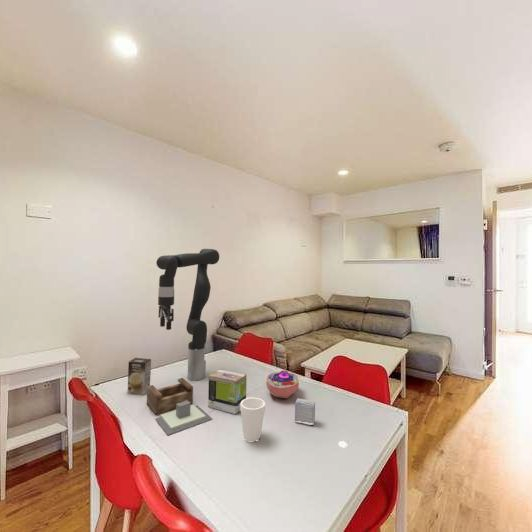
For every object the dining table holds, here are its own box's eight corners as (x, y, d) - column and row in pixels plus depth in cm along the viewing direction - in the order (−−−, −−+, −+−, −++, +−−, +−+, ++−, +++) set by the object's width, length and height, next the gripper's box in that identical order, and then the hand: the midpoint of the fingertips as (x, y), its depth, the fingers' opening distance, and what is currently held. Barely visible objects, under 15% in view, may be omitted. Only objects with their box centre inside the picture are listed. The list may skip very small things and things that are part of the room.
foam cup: (255, 448, 101) (255, 412, 101) (234, 439, 106) (235, 404, 106) (268, 435, 109) (269, 401, 109) (249, 427, 114) (250, 395, 114)
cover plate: (193, 406, 128) (193, 393, 128) (205, 418, 119) (205, 403, 119) (160, 417, 119) (160, 402, 119) (171, 430, 110) (171, 415, 110)
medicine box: (315, 421, 119) (315, 401, 119) (313, 427, 115) (313, 405, 115) (296, 417, 122) (297, 397, 122) (294, 423, 118) (294, 402, 118)
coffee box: (126, 393, 140) (127, 361, 140) (133, 388, 146) (134, 357, 146) (144, 395, 139) (145, 362, 139) (150, 389, 145) (151, 358, 145)
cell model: (259, 400, 137) (259, 376, 137) (273, 384, 156) (274, 364, 156) (292, 407, 131) (293, 383, 131) (303, 390, 149) (304, 369, 149)
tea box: (246, 405, 132) (247, 373, 132) (235, 415, 123) (236, 381, 123) (219, 398, 138) (220, 368, 138) (207, 407, 129) (208, 375, 129)
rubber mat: (197, 406, 130) (197, 405, 130) (212, 419, 119) (212, 418, 119) (155, 419, 117) (155, 418, 117) (167, 435, 107) (167, 434, 107)
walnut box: (182, 394, 140) (182, 377, 140) (192, 404, 131) (193, 386, 131) (146, 404, 130) (147, 386, 130) (155, 415, 120) (155, 396, 120)
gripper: (179, 296, 138) (178, 329, 138) (168, 293, 149) (167, 324, 149) (163, 297, 133) (163, 331, 133) (154, 294, 144) (153, 326, 144)
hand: (165, 328), depth 141 cm, fingers open, 8 cm apart
